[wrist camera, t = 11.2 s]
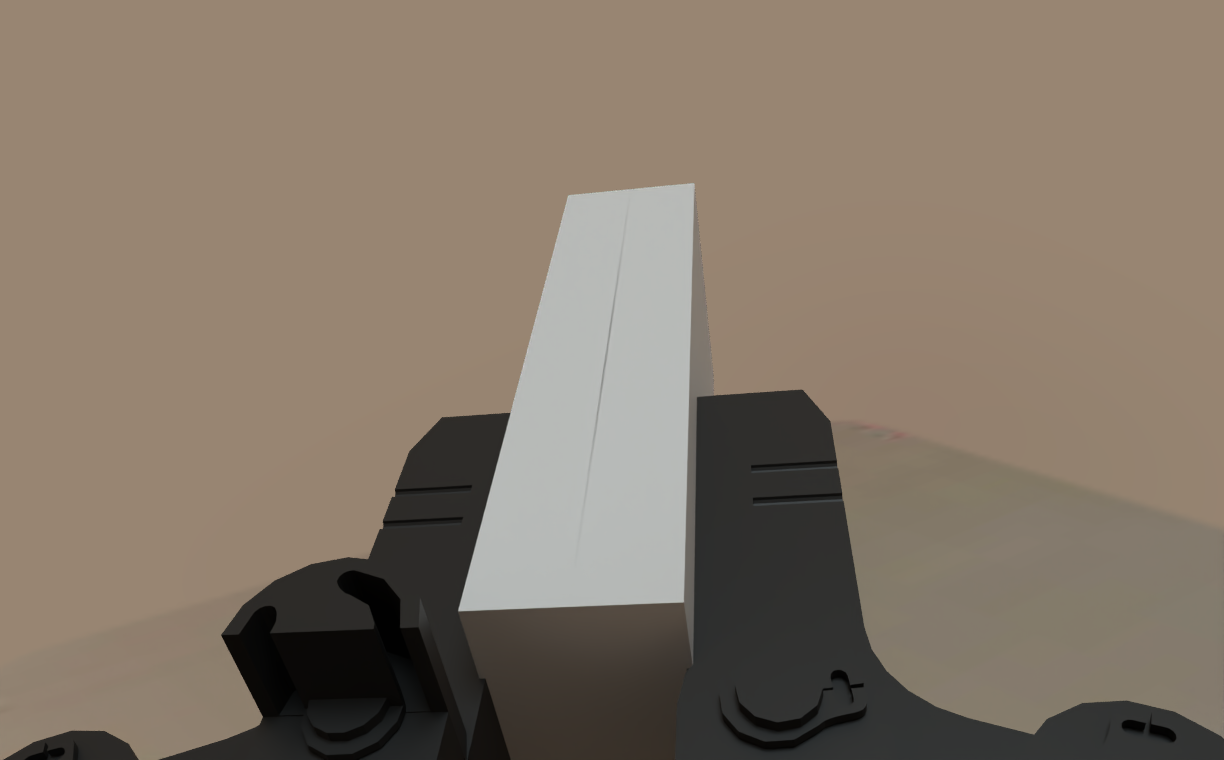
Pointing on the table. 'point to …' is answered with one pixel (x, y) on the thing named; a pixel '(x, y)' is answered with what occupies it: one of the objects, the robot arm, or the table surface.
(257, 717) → the table surface
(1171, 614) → the table surface
